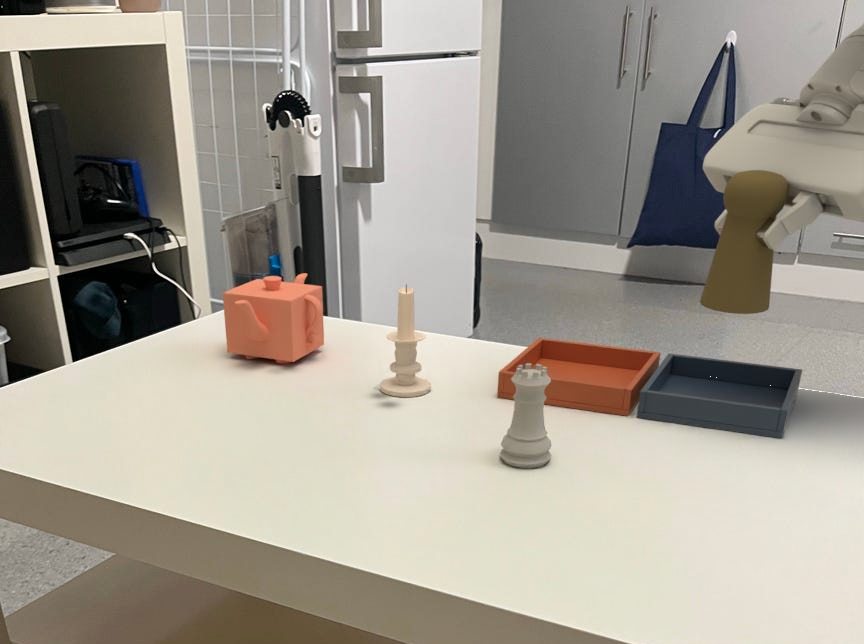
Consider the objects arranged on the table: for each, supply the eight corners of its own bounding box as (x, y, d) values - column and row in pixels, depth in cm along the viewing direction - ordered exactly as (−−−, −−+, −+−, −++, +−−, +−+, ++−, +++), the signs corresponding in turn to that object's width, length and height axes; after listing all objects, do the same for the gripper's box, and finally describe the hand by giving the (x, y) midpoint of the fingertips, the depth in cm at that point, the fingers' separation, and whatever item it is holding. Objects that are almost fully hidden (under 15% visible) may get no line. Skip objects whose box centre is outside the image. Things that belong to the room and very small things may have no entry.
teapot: (194, 365, 110) (186, 286, 106) (265, 331, 122) (260, 258, 117) (289, 380, 106) (285, 298, 101) (353, 343, 117) (352, 268, 113)
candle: (425, 398, 101) (427, 291, 95) (374, 395, 102) (374, 288, 96) (435, 382, 105) (437, 279, 100) (386, 379, 106) (386, 276, 101)
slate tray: (796, 394, 102) (802, 369, 100) (781, 438, 92) (787, 410, 90) (664, 377, 106) (668, 353, 105) (636, 417, 96) (640, 390, 95)
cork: (758, 317, 88) (787, 180, 82) (690, 306, 90) (713, 173, 84) (776, 301, 92) (805, 170, 86) (711, 292, 95) (734, 163, 89)
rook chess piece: (527, 473, 85) (534, 380, 81) (488, 458, 88) (493, 367, 83) (561, 460, 87) (570, 368, 83) (523, 446, 90) (529, 356, 86)
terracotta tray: (657, 376, 107) (660, 352, 105) (628, 416, 97) (631, 389, 95) (536, 361, 111) (538, 337, 110) (497, 397, 101) (498, 371, 100)
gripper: (754, 70, 92) (651, 194, 94) (942, 84, 76) (814, 233, 78) (782, 123, 96) (683, 241, 98) (967, 146, 80) (844, 286, 82)
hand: (742, 238), depth 88 cm, fingers closed on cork, 4 cm apart
